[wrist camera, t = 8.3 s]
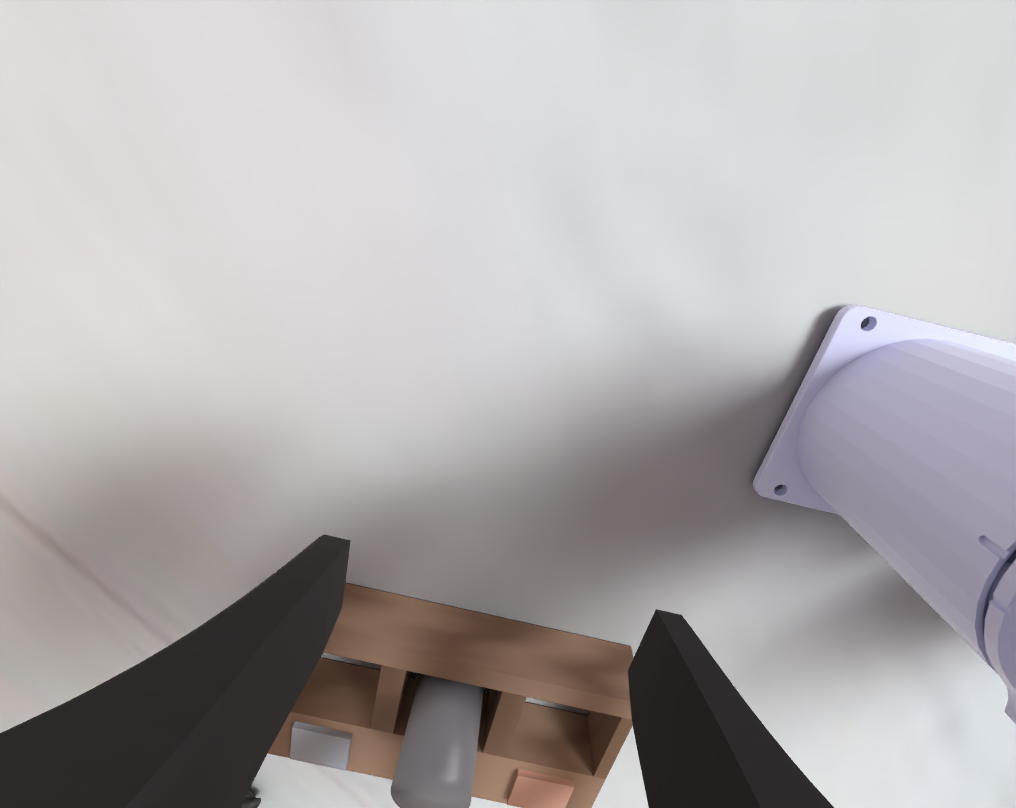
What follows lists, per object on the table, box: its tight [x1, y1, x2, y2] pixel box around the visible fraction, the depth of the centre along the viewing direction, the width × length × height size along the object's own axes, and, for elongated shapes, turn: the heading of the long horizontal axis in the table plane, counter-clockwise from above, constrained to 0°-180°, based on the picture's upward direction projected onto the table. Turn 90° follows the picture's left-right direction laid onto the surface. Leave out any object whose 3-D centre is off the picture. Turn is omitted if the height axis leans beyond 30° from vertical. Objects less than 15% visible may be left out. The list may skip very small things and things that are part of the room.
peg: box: [391, 674, 484, 808], centre depth 22 cm, size 3×3×6 cm
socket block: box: [268, 583, 633, 808], centre depth 24 cm, size 17×9×3 cm, turn 77°
